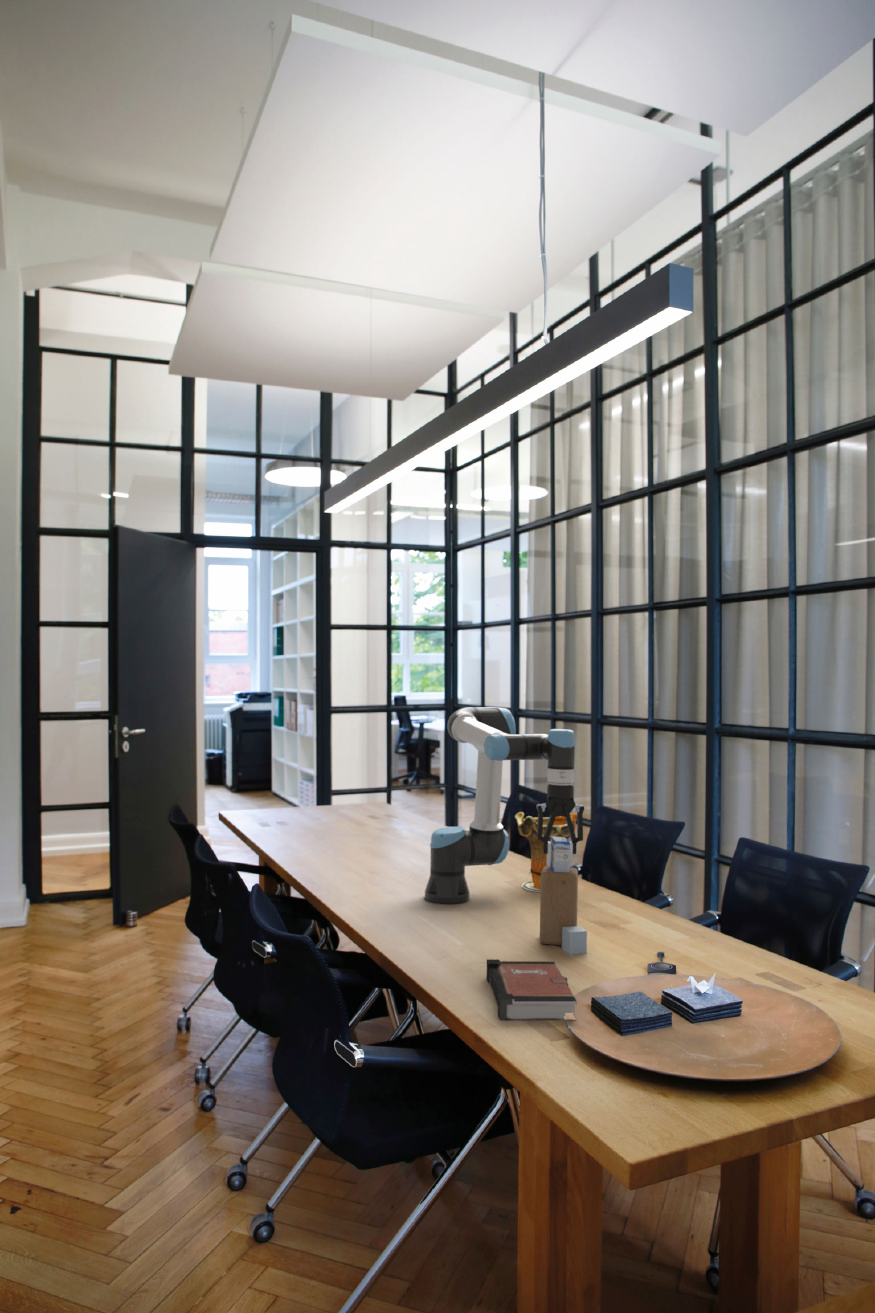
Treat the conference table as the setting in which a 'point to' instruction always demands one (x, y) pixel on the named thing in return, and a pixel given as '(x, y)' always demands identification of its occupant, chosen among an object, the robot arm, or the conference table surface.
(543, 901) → the wooden block
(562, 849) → the medicine box
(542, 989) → the book
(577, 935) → the slate block
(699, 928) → the conference table surface
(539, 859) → the decorative vase
